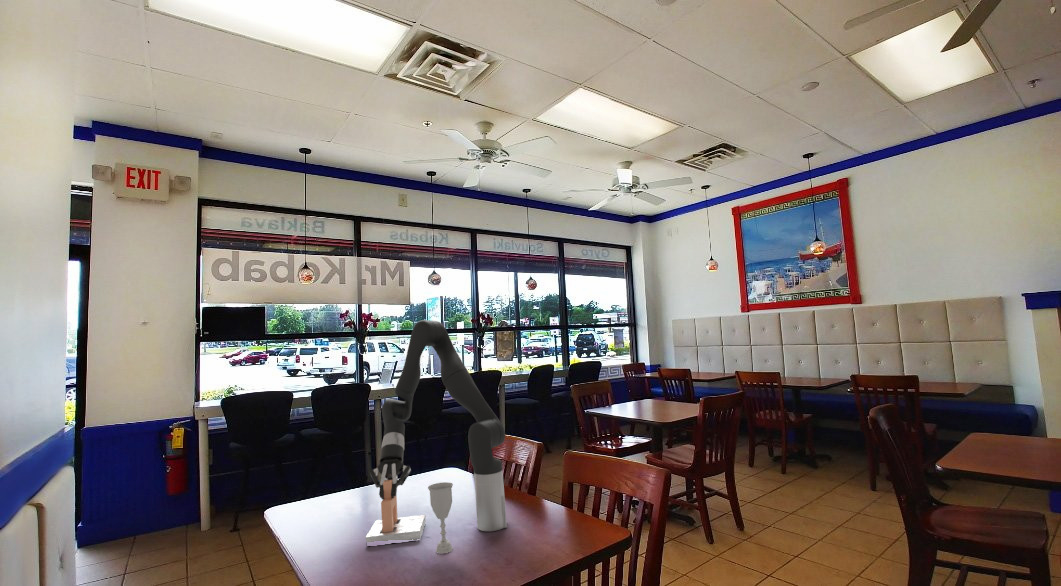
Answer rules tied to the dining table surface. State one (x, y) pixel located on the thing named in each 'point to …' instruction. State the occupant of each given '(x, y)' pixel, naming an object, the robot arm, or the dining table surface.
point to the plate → (398, 529)
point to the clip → (388, 508)
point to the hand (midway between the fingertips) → (387, 497)
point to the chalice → (441, 510)
